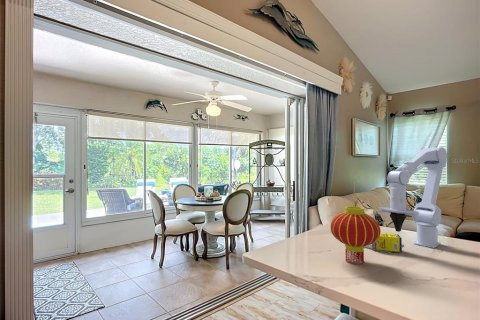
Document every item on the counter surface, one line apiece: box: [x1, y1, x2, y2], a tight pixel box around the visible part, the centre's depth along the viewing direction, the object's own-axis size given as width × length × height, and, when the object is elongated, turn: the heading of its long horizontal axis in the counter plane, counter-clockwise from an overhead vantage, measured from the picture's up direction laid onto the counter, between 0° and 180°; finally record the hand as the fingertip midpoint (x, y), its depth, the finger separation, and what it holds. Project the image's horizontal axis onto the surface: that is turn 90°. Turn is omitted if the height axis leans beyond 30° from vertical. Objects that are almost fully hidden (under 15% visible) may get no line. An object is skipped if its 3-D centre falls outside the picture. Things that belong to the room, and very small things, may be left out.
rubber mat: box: [364, 244, 405, 255], centre depth 118 cm, size 16×15×1 cm
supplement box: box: [371, 232, 403, 253], centre depth 112 cm, size 6×6×11 cm
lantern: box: [329, 180, 382, 266], centre depth 99 cm, size 17×17×30 cm
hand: (398, 231), depth 112 cm, fingers closed
